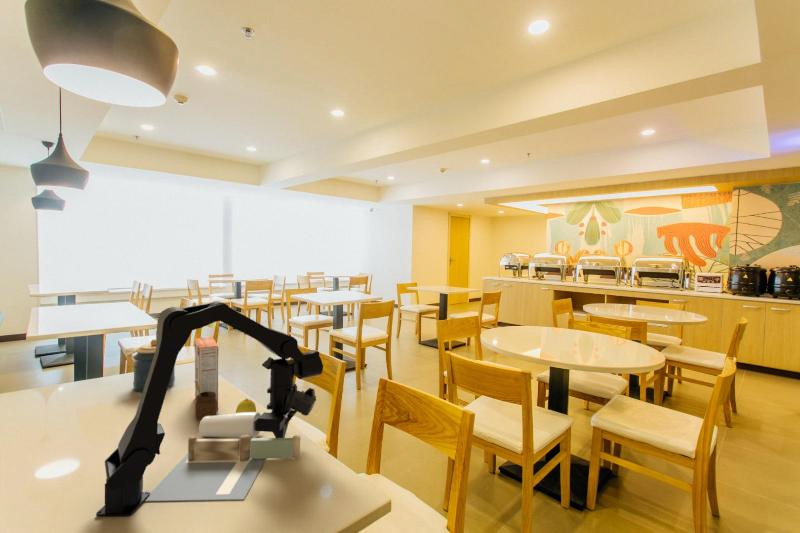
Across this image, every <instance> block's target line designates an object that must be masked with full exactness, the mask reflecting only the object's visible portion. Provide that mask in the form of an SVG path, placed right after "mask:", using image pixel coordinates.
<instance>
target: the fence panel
mask: <svg viewBox="0 0 800 533" xmlns="http://www.w3.org/2000/svg"><path fill="white" fill-rule="evenodd" d="M262 458H266V459H295V460H298V459H299V458H301V436H300V435H294V436H293V437H285V438H275V437H256V438H250V459H262Z"/></svg>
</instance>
